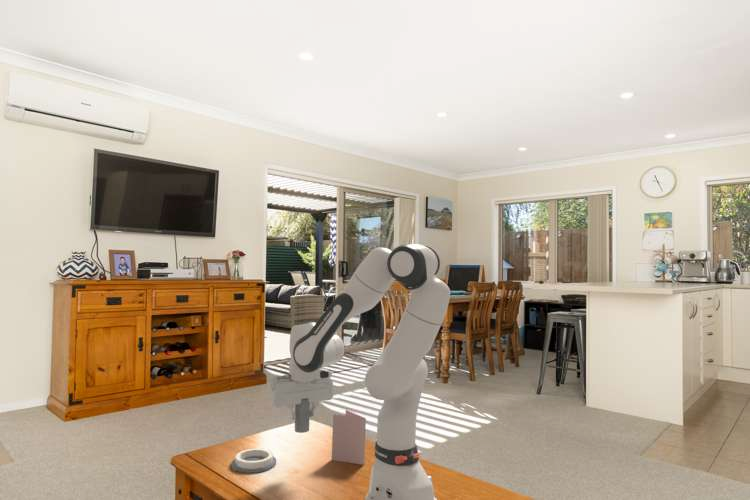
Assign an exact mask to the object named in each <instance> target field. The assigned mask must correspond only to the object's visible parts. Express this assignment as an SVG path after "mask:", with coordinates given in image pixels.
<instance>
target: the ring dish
mask: <svg viewBox="0 0 750 500" xmlns="http://www.w3.org/2000/svg"><path fill="white" fill-rule="evenodd" d="M276 465H277V459H276V457H275V456H274V453H273V452H272V451H271V450H269V449H264V448H250V449H245V450H241V451H239V452H238V453H236V455H235V458H234V459H233V460H232V461H231V469H232V470H233V471H236V472H238V473H241V474H258V473H263V472H268V471H270V470H272V469H273V468H275V467H276Z"/></svg>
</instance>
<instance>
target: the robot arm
mask: <svg viewBox="0 0 750 500" xmlns="http://www.w3.org/2000/svg"><path fill="white" fill-rule="evenodd" d="M440 267H441V259H440V256H439V254H438V253H437V252H436V251H435V250H434V249H433V248H432V247H430V246H427V245H422V244H419V243H405V244H400V245H398V246H397V247H395V248H393V250H391V249H389V248H387V247H383V246H382V247H381V246H379V247H375V248H373V249H372V250H371V251H369V253H368V254H367V256H366V257H364V259H363V260H362V261H361V262H360V263H359V265H358V267H357V268H355V269H356V270H355V271H354V273H353V274H352V276H351V277H350V279H349V281H348V282H347V283H346V284H345V286H344V287H343V289H342V290H341V291H340V292H339V293H338V295H337V296H336V297H335V298H334V300H333V301H332V302H331V303H330V304H329V305H328V307H327V308H326V309H325V310H324V312H323V313H322V315H321V316H320V317H319V319H318V320H317V321H316V322H315V321H304V322H298V323H295V324H294V325H292V327H291V329H290V333H289V334H290V335H289V353H290V358H289V363H288V364H289V365H288V374H283V375H275V377H273V379H272V380H271V382H270V383H271V384H270V388H271V393H270V404H271V405H272V406H273V407H274V408H282V407H286V408H287V410H288V412H289V418H290V420H295V419H296V418H297V417H296V416H297V413H295V411H294V410H293V409H295V405H298V404H301V399H307V398H309V403H310V404H311V407H310V416H309V418H311V417H315V411H316V409H317V408H318V405H319V402H325V401H331V400H332V399H333V398H334V395H335V394H334V391H335V390H334V382H333V380H332V373H333V372H331V370H329V369H327V368H325V367H329V366H332V365H335V364H337V363H339V362H341V361H342V360H343V358H344V357H345V353H346V345H345V342H344V340H343V339H342V337H341V336H340V335H338V334H337V332H339V330H340V329H341V327H342V326H343V325H344V324H345V323H346V322H348V321H349V320H350V319H353V318H354V317H356V316H358V315H360V314H361V315H362V314H363V313H366V312H368V311H370V310H372V309H374V308H375V307H376V305H377V304H379V302H380V301H382V299H383V297H384V296H385V294H386V292H388V290H389V288H390V287H391V285H392V284H393V282H394V281H396V282H398V283H399V284H401V285H402V286H403V287H404V288H405V290H408V291H410V297H409V299H408V301H407V304H406V305H405V308H404V310H403V313H402V316H401V318H400V320H399V322H398V324H397V327H396V329H395V331H394V333H393V335H392V337H391V339H390V340H388V343H387V344H386V346H385V347H384V349H383V350H382V352H381V353H380V355H379V357H378V358H377V359H376V361H375V362H374V363H373V365H371V366H370V368H368V370H367V372H366V373H365V376H364V384H365V388H366V390H367V392H368V393H369V395H370V396H372V398H373V399H376V400H380V401H383V403H382V406H381V408H380V409H379V411H378V414H377V424H376V425H377V429H376V430H377V431H376V442H375V444H374V445H375V446H374V457H375V460H374V463H373V465H372V467H371V471H370V478H369V487H368V492H367V493H366V495H365V499H364V500H438V498H436V497H435V490H434V485H433V479H432V476H431V475H428V474H427V472H426V471H425V469H424V467H423V466H422V464H421V462H420V457H421V452H419V450H418V445H417V442H416V435H417V434H416V433H417V431H416V430H417V417H418V411H419V404H420V402H421V401H420V400H421V397H422V392H423V387H424V384H425V381H426V380H427V377H428V374H429V369H428V365H427V362H426V360H425V359H424V358H425V356H427V354H428V353H429V352H430V350H431V349H432V347H433V345H434V342H435V341H436V338H437V335H438V333H439V330H440V329H441V326H442V324H443V321H444V319H445V316H446V315H447V310H448V307H449V303H450V299H451V289H450V287H449V286H448V285H447V283H445V282H444V281H443V280H442V279H439V278H438V277H437V276H436V275H437V274H438V272H439V271H440Z"/></svg>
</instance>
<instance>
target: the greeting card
mask: <svg viewBox="0 0 750 500" xmlns="http://www.w3.org/2000/svg"><path fill="white" fill-rule="evenodd" d="M366 419H367V418H366V417H364V416H361V415H359V414H357V413H354V412H352V411H350V410H348V409H345V415H341V414H334V413H333V417H332V438H331V439H332V441H331V443H332V444H331V460H332V461H338V462H343V463H350V464H357V465H362V466H363V465H364V466H365V454H366V451H365V450H366V445H365V444H366V422H367V420H366Z"/></svg>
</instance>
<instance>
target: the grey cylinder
mask: <svg viewBox="0 0 750 500" xmlns="http://www.w3.org/2000/svg"><path fill="white" fill-rule="evenodd" d="M310 404H311V403H309V398H307V399H301V404H298V405H294V412H295V413H297V416H296V417H297V418H296V419H294V432H296V433H299V434H300V433H301V434H302V433H307V432H309V431H310V417H309V416H310V409H311V407H310V406H311V405H310Z"/></svg>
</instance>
